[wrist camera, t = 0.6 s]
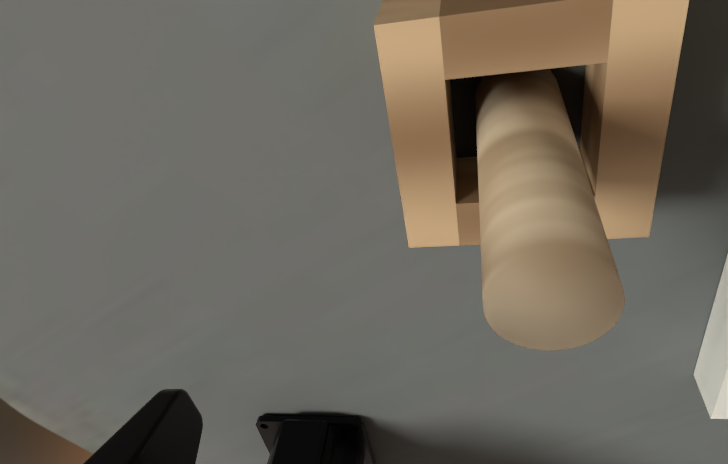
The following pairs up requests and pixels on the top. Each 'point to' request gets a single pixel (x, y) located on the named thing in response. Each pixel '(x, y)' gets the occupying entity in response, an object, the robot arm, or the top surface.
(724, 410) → the tray
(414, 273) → the top surface
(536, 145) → the dowel
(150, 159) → the top surface
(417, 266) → the top surface
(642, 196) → the holder
